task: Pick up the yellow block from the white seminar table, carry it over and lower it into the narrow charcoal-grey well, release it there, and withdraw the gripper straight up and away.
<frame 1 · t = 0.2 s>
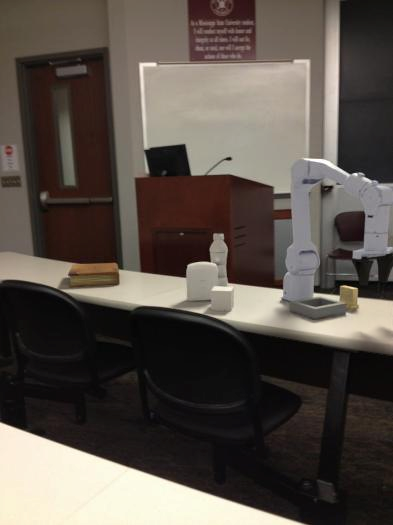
hand: (373, 283, 117), 10 cm above the table, fingers open, 7 cm apart
photo printer: (202, 300, 143), on the table
diary: (95, 282, 177), on the table
grey well: (317, 312, 126), on the table
plastic bottle: (218, 290, 157), on the table
adhesive note: (222, 308, 133), on the table
yellow block: (348, 306, 132), on the table
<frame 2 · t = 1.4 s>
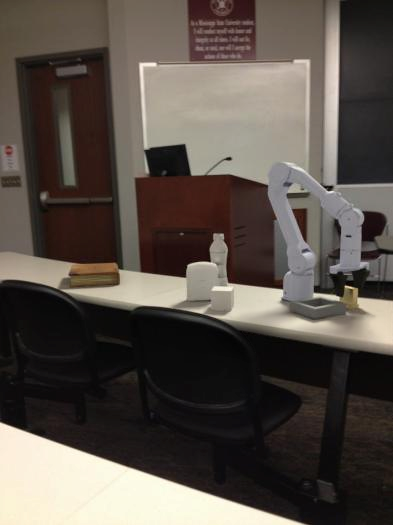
hand: (348, 295, 132), 4 cm above the table, fingers open, 7 cm apart
nothing on the table moved.
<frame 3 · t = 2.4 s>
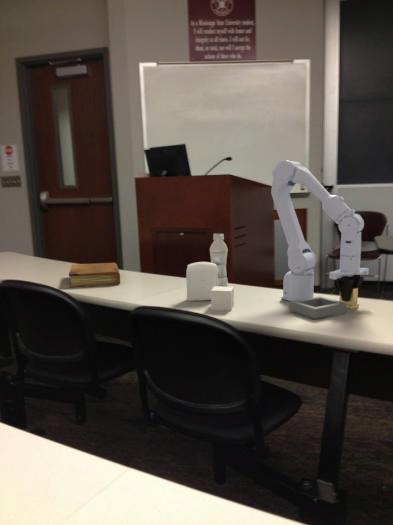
hand: (348, 300, 132), 2 cm above the table, fingers closed on yellow block, 2 cm apart
yellow block: (348, 306, 132), on the table, touching gripper
everything else where it was.
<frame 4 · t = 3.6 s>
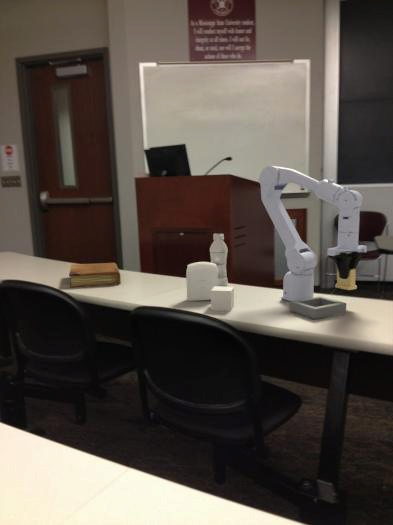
hand: (346, 278, 130), 9 cm above the table, fingers closed on yellow block
yellow block: (345, 288, 131), point 6 cm above the table, touching gripper
everything else where it was.
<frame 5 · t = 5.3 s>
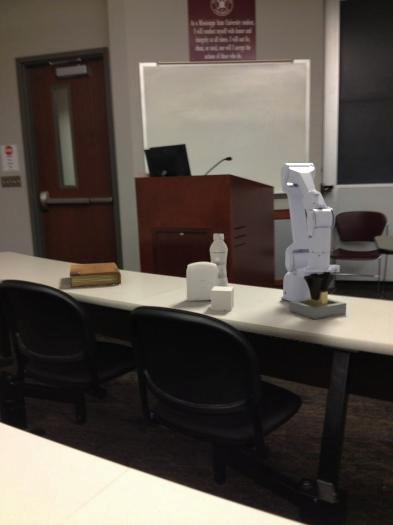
hand: (317, 299, 126), 4 cm above the table, fingers closed on yellow block, 2 cm apart
yellow block: (317, 310, 126), resting on grey well, touching gripper
everything else where it was.
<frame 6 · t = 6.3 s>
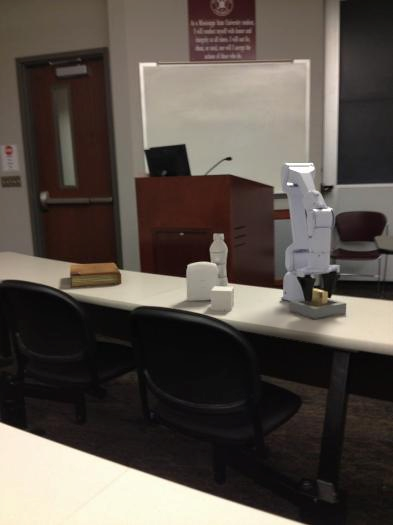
hand: (317, 299, 126), 4 cm above the table, fingers open, 7 cm apart
yellow block: (317, 310, 126), resting on grey well
everything else where it was.
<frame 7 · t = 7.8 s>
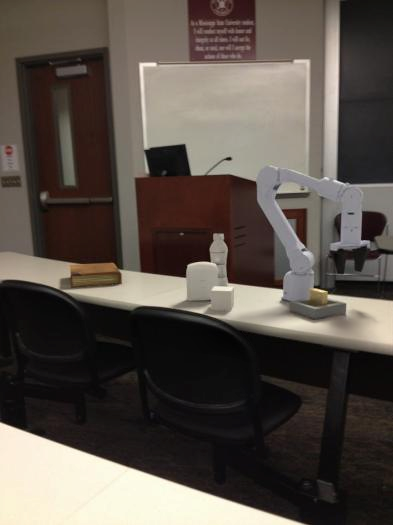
hand: (349, 272, 133), 10 cm above the table, fingers open, 7 cm apart
nothing on the table moved.
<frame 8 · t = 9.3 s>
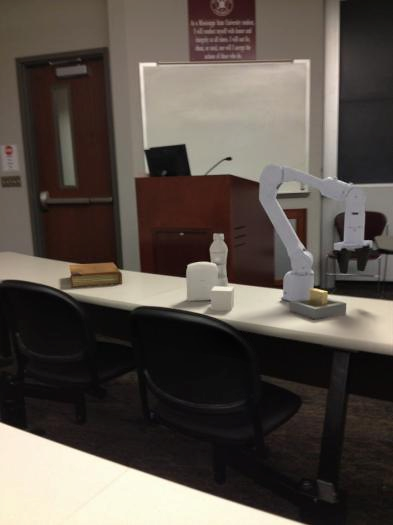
hand: (352, 272, 134), 10 cm above the table, fingers open, 7 cm apart
nothing on the table moved.
at the end: yellow block 0.2 cm off-centre on the grey well, point 0.5 cm above the grey well's base; yellow block tilted 0°; the gripper is holding nothing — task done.
